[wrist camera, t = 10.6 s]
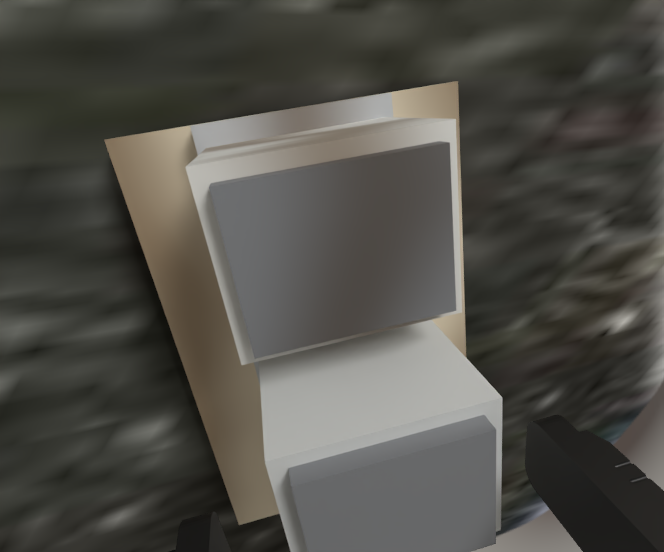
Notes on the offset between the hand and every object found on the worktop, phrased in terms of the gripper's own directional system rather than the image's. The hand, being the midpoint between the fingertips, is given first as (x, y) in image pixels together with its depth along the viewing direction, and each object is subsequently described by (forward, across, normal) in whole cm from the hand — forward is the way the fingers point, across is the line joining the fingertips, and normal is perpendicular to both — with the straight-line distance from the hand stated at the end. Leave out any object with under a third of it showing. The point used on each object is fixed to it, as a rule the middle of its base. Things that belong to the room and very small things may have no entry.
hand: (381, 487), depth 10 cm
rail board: (+9, 0, 0) cm, 9 cm away
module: (+7, 0, 0) cm, 7 cm away
